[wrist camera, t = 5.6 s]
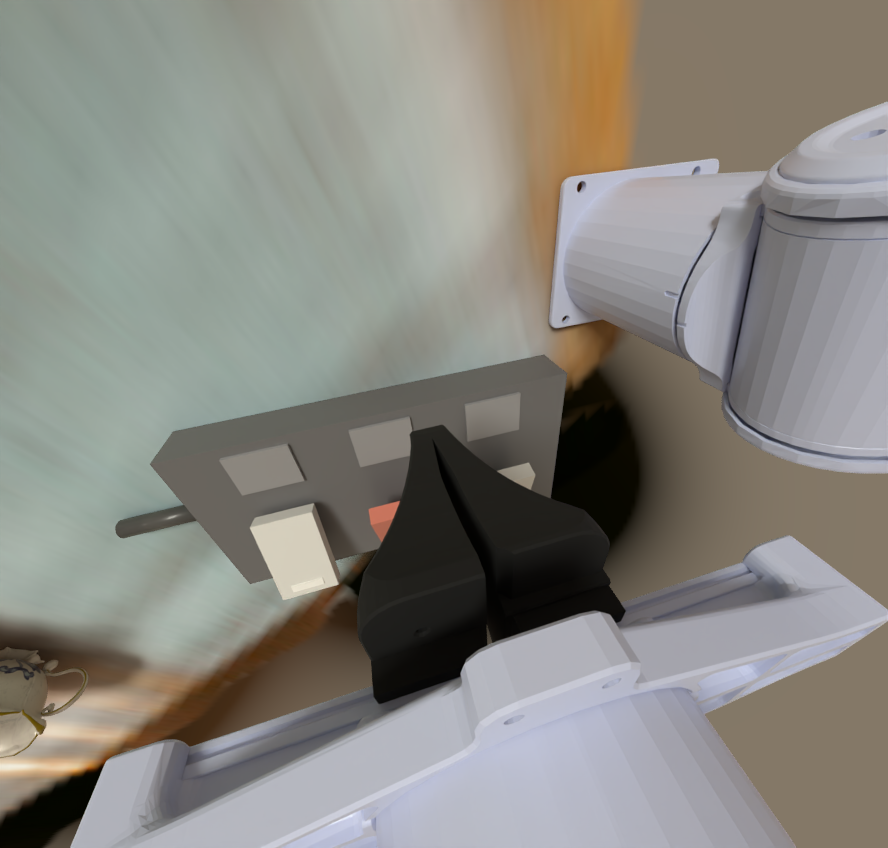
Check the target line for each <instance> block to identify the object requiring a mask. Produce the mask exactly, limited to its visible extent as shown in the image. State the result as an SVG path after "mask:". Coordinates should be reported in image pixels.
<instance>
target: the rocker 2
mask: <svg viewBox="0 0 888 848" xmlns="http://www.w3.org/2000/svg"><path fill="white" fill-rule="evenodd" d="M497 472H499V473H501V474H502V475H504V476H505V477H507V478H509V479H511V480H512V481H514V482H516V483H518V484H520V485H522V486H524V487H526V488H528V489H530V490H531V487H532V484H533V481H534V478H535V473H534V471H533V470H532V468H531V466H530V464H529V463H525V464H521V465H517V466H514V467H510V468H506V469H502V470H498V471H497Z"/></svg>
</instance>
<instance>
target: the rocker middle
mask: <svg viewBox="0 0 888 848" xmlns="http://www.w3.org/2000/svg"><path fill="white" fill-rule="evenodd" d="M399 502H400V501H397V502H393V503H390V504H386V505H382V506H378V507H374V508H370V509H369V515H370V522H371V526H372V527H373V529H374V531H375V532H376V534H377V535H378V537H379V539H380V540H381V542H382V541H383V539H384V537H385V535H386V533H387V531H388V529H389V527H390V525H391V523H392V520H393V518H394V515H395V513H396V510H397V508H398V505H399Z"/></svg>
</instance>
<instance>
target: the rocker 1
mask: <svg viewBox="0 0 888 848" xmlns="http://www.w3.org/2000/svg"><path fill="white" fill-rule="evenodd" d="M250 530H251V532H252V534H253V536H254V538H255V540H256V542H257V545H258V547H259V549H260V551H261V553H262V555H263V557H264V560H265V562H266V564H267V566H268V568H269V570H270V572H271V574H272V577H273V579H274V581H275V583H276V585H277V587H278V589H279V592H280V594H281V596H282V598H283V600H286V599H289V598H293V597H296V596H300V595H303V594H307V593H310V592H314V591H317V590H321V589H324V588H328V587H331V586H335V585H338V584H339V575H340V573H339V570H338V567H337V565H336V562H335V559H334V556H333V554H332V551H331V548H330V545H329V543H328V540H327V537H326V534H325V532H324V529H323V526H322V523H321V521H320V518H319V515H318V512H317V510H316V507H315V504H314V503H312V504H308V505H304V506H300V507H296V508H292V509H288V510H284V511H280V512H276V513H272V514H268V515H264V516H260V517H256V518H254V520H253V522H252V524H251V526H250Z"/></svg>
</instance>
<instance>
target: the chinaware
mask: <svg viewBox="0 0 888 848" xmlns="http://www.w3.org/2000/svg"><path fill="white" fill-rule="evenodd" d="M37 652H38V650H36V651H28V650H21V649H11V648H9V647H6V648H5V649H4V650H1V651H0V758H3V757H8V756H15V755H17V754H18V753H20V752H21V751H23V750H25V749H26V748H28V747H29V746H30V745H31V744H32V742H33V741H34V740H35V738H36V737H37V736H38V734H40V735H41V734H42V733H43V731H44V729H45V728H46V720H44V719H41V718H42V716H51V715H55V714H57V713H60V712H62V711H64V710H65V709H67V708H68V707H70V706H71V705H72V704H73V703H74V702H75V701H76V700H77V699H78V698H79V697H80V696H81V695H82V693H83V692H84V690H85V688H86V686H87V684H88V674H87V672H86V671H85V670H84V669H83V668H80V667H74V668H69V669H66V670H64V671H61V672H57V673H52V672H50V671H51V670H53V669H54V668H55V667H56V666H57V665H58V660H51V661H49V662H47V663H46V664H45V665H44V666H43V668H42V670H41V669H40V668H38V667H37V666H36V665H34V664H39V663H43V662H45V661H42V660H40V657H39V655H38V654H37ZM43 671H44V672H43ZM69 672H79V673H81V674H82V676H83V684H82V687H81V688H80V690H79V691H78V693H77V694H76V695H75V696H74V697H73V698H72V699H71V700H70V701H69V702H67V703H66V704H65V705H63V706H62V707H60V708H58V709H56V710H54V711H53V709H54V706H55V704H54V703H51V704H50V705H49V706H48V707H46V708H44V706H45V703H46V699H47V694H48V684H47V679H46V675H47V676H52V677H53V676H59V675H62V674H66V673H69ZM46 710H48V712H46V713H44V712H45V711H46Z"/></svg>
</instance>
